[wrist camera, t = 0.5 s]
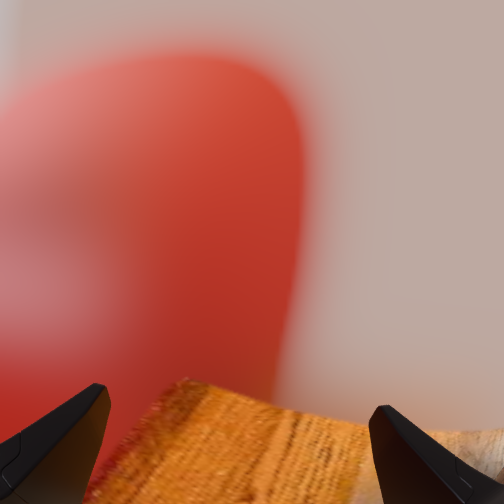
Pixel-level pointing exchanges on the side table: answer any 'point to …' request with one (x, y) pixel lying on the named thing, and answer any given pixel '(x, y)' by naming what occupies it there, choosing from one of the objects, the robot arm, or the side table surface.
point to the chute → (500, 477)
